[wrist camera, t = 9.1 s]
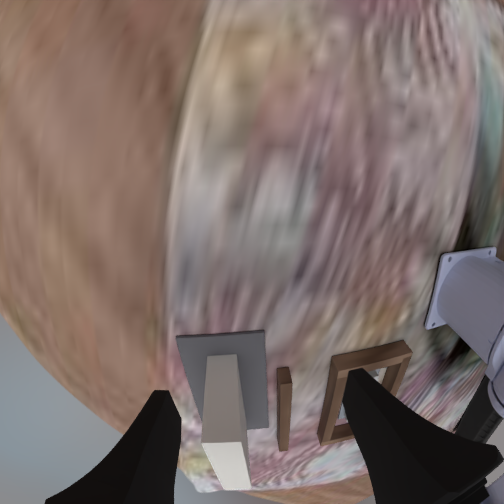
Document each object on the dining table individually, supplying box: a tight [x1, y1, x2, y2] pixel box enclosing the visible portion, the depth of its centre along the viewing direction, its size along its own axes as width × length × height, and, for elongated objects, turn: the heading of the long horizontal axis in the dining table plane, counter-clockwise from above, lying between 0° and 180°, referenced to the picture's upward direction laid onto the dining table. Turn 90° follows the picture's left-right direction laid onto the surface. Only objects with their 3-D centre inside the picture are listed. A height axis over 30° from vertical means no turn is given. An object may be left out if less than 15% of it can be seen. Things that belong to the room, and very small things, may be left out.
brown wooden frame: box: [277, 340, 413, 452], centre depth 24 cm, size 13×14×2 cm
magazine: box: [455, 375, 504, 444], centre depth 27 cm, size 17×3×30 cm
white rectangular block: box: [201, 354, 252, 490], centre depth 19 cm, size 2×10×8 cm, turn 4°
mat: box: [176, 330, 269, 430], centre depth 23 cm, size 7×14×1 cm, turn 4°
